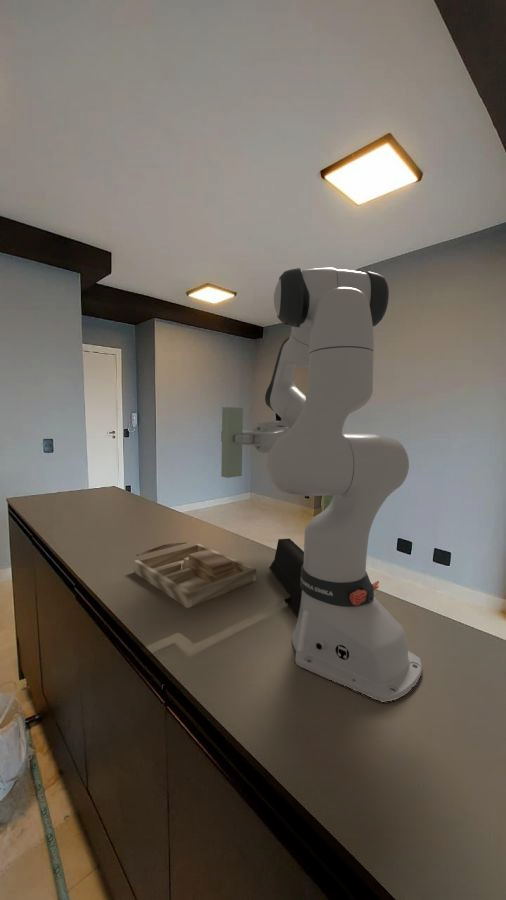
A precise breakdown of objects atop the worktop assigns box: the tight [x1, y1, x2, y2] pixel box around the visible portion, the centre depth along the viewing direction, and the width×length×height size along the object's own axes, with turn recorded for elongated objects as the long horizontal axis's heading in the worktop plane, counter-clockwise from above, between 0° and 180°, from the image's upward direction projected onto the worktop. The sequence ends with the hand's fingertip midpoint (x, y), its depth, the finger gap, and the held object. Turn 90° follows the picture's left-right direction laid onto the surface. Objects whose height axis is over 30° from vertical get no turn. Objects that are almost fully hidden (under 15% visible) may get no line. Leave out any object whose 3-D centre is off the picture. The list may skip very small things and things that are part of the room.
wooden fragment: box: [136, 542, 186, 556], centre depth 116 cm, size 26×11×1 cm, turn 118°
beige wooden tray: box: [133, 543, 257, 609], centre depth 93 cm, size 24×20×4 cm
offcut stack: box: [182, 550, 237, 583], centre depth 95 cm, size 14×7×4 cm, turn 44°
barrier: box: [269, 538, 304, 619], centre depth 89 cm, size 24×9×10 cm, turn 14°
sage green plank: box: [220, 406, 244, 479], centre depth 97 cm, size 2×5×18 cm, turn 134°
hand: (229, 438), depth 97 cm, fingers closed on sage green plank, 2 cm apart
